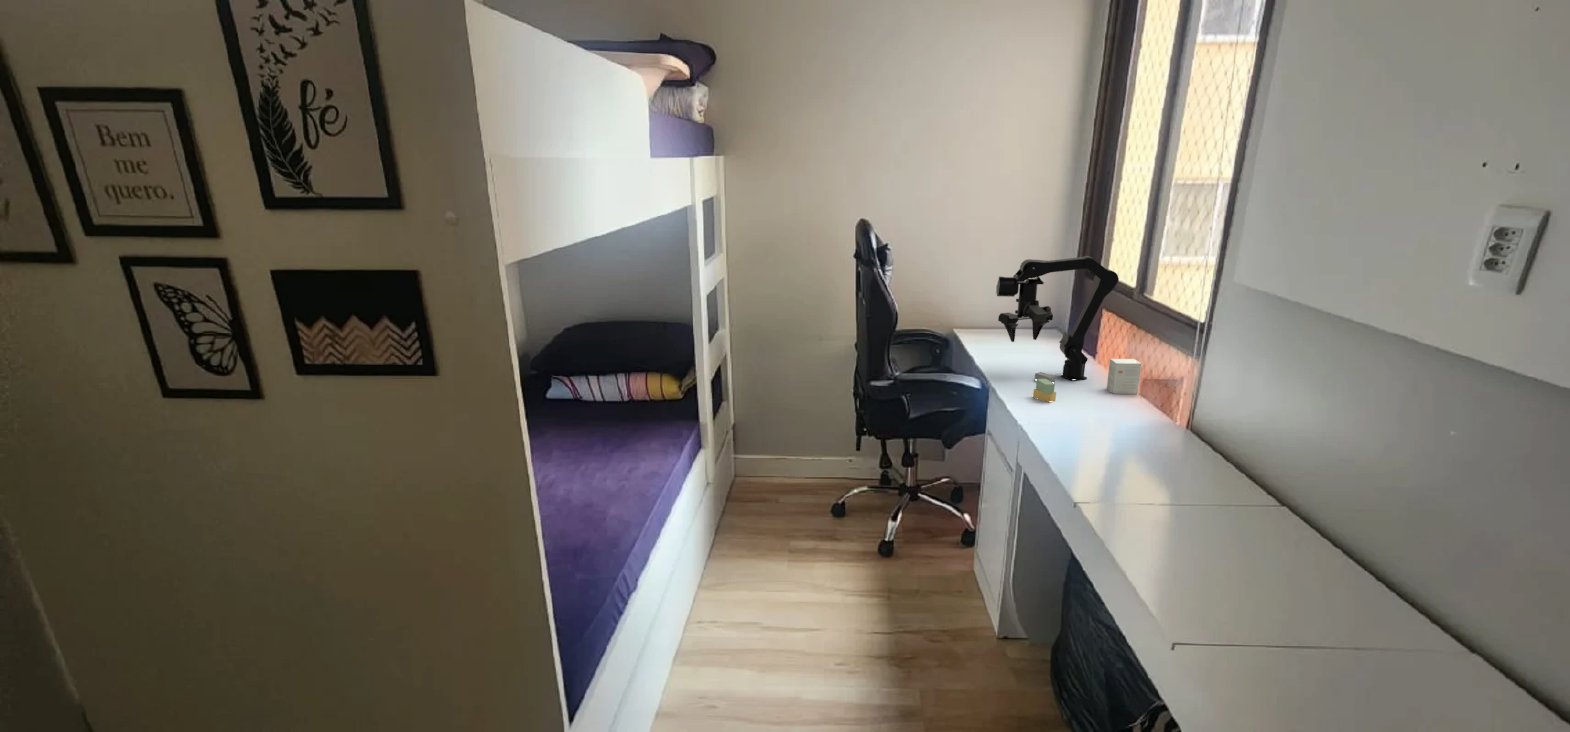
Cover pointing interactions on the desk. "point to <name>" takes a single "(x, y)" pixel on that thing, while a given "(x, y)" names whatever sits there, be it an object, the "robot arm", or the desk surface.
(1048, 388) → the sage brick
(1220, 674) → the desk surface
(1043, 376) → the slate brick
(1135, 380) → the small box
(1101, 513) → the desk surface
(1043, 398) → the ochre brick
